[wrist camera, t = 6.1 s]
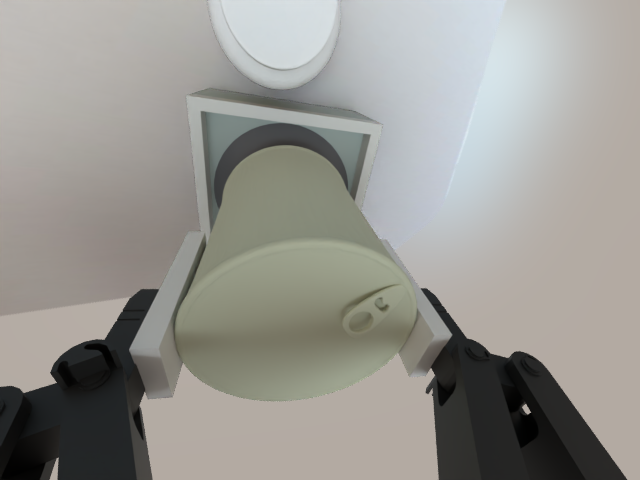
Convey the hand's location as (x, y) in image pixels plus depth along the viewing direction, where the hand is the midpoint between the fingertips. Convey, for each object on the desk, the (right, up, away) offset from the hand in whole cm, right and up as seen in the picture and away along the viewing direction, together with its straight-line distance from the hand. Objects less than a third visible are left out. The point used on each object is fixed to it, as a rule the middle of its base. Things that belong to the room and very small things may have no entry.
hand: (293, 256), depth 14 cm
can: (-1, +3, +5) cm, 6 cm away
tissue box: (-3, +8, +12) cm, 15 cm away
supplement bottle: (-2, +17, +6) cm, 19 cm away
